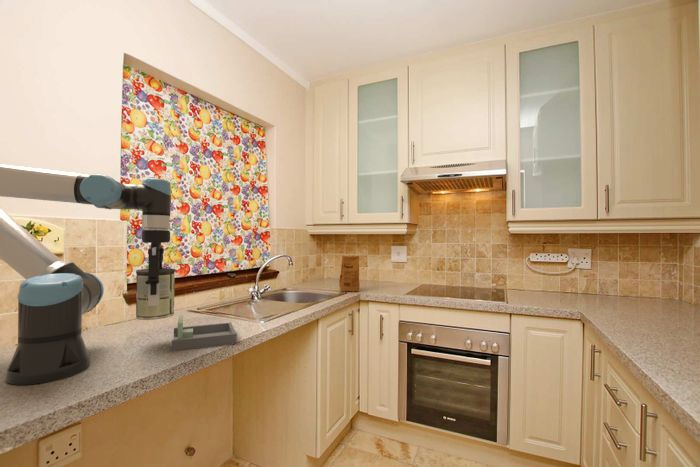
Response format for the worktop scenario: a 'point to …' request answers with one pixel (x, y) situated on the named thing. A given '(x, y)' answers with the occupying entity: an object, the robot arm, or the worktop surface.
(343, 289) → the coffee package
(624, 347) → the worktop surface
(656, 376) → the worktop surface
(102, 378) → the worktop surface
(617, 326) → the worktop surface
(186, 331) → the pusher
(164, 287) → the coffee can
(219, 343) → the grey tray
